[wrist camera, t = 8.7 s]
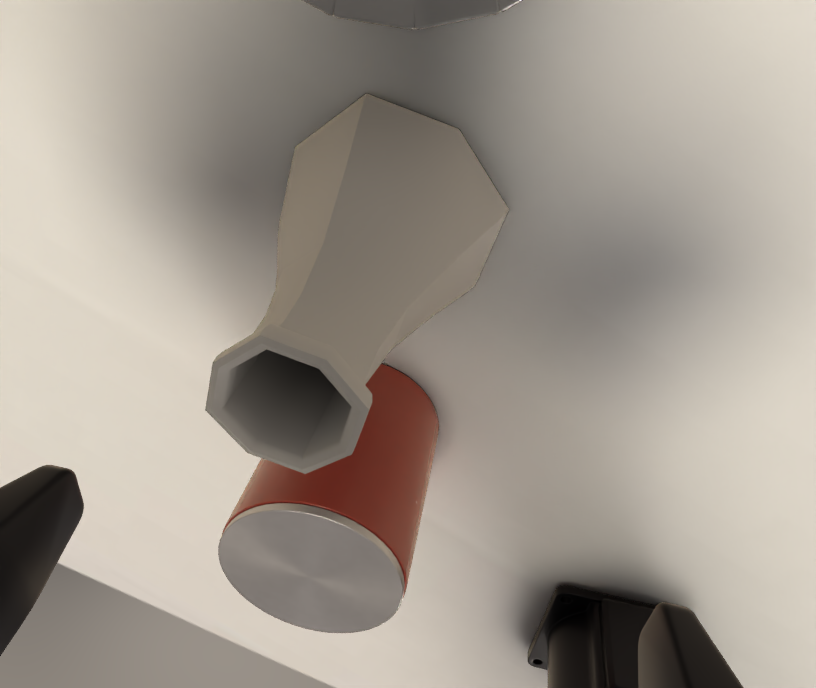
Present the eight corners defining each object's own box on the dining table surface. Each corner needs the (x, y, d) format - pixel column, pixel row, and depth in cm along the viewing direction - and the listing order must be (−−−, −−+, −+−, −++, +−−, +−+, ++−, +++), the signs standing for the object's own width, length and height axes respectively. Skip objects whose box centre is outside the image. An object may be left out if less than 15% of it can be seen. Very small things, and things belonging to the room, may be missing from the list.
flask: (246, 227, 21) (58, 411, 13) (360, 43, 17) (194, 139, 9) (413, 346, 23) (339, 580, 14) (551, 203, 19) (559, 410, 10)
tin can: (428, 485, 26) (393, 651, 20) (294, 455, 27) (221, 609, 21) (449, 376, 23) (416, 536, 17) (296, 345, 23) (210, 489, 17)
